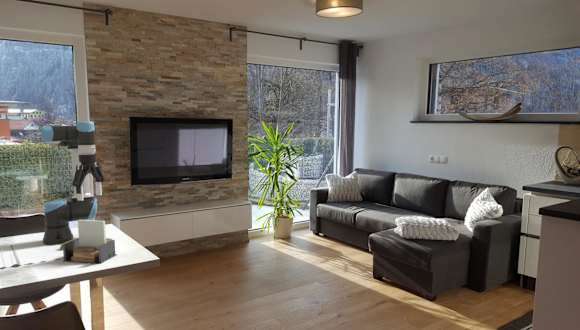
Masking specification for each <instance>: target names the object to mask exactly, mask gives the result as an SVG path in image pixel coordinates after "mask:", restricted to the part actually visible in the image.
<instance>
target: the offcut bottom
mask: <svg viewBox="0 0 580 330" xmlns="http://www.w3.org/2000/svg"><path fill="white" fill-rule="evenodd" d="M71 260H72V261H78V262H92V263H94V262H96V261H98V260H99V256H98V257H96V258H82V257H73V256H72V257H71Z"/></svg>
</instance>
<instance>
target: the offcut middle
mask: <svg viewBox="0 0 580 330" xmlns="http://www.w3.org/2000/svg"><path fill="white" fill-rule="evenodd" d="M98 256H99V251H95V252H93V253H91V254H85V253H73V257H82V258H96V257H98Z"/></svg>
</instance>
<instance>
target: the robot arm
mask: <svg viewBox="0 0 580 330" xmlns="http://www.w3.org/2000/svg"><path fill="white" fill-rule="evenodd" d="M95 129H96V128H95V122H94V121H93V120H92V121H90V120H89V121H77V122H76V124H75V125H43V126H41V127H40V134H41V136H40V137H41V141H42V142H43V143H46V144H47V145H50V146H53V147H59V148H64V147H67V150H68V151H69V152H70V155H71V169H72V183H71V185H72V187H73V195H72V196H71V200H68V198H58V199H54V200H50V201H47V202H46V203H45V204H44V205H43V206H44V207H43V213H44V223H45V224H44V225H45V230H44V234H43V237H42V243H43V245H48V246H53V245H55V246H56V245H62V244H63V243H65V242H68V241H70V240H73V239H74V234H73V233H72V230H71V227H70V222H76V221H77V222H78V220H93V219H95V218H96V216H97V211H98V199H97V198H95V196H94V194H93V193H92V191H91V180H90V178H91V177H90V174H91V176H92V177H93V179H94V180H95V183H94V185H95V195H96V196H102V195H103V193H102V192H103V189H102V188H103V187H102V183H103V182H104V180H105V176H104V174H103V172H102V169H101V166H100V162H98V161H97V154H96V153H97V150H96V135H95Z"/></svg>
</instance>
